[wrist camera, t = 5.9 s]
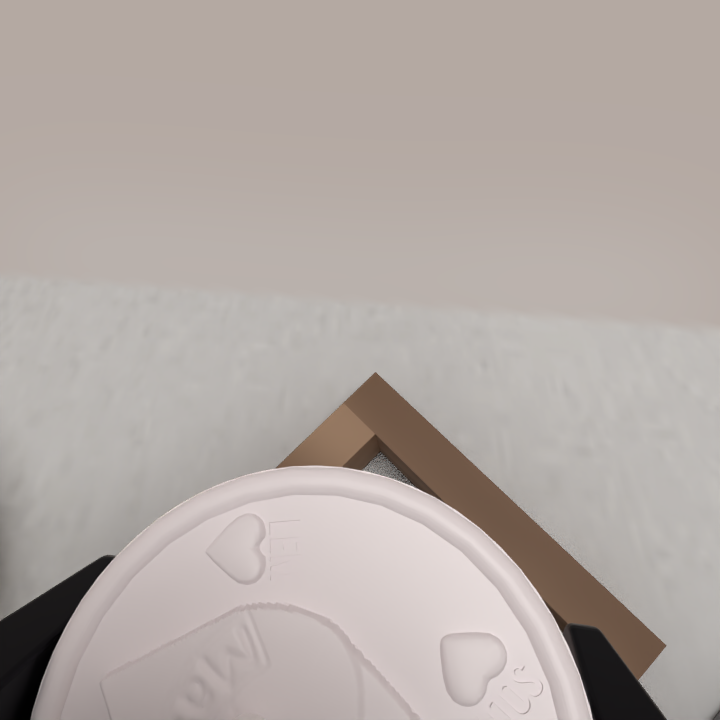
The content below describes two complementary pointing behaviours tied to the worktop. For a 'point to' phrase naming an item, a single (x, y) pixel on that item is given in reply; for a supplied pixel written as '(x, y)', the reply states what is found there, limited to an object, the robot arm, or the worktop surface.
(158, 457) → the worktop surface
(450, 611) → the smoothie
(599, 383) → the worktop surface
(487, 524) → the walnut holder
